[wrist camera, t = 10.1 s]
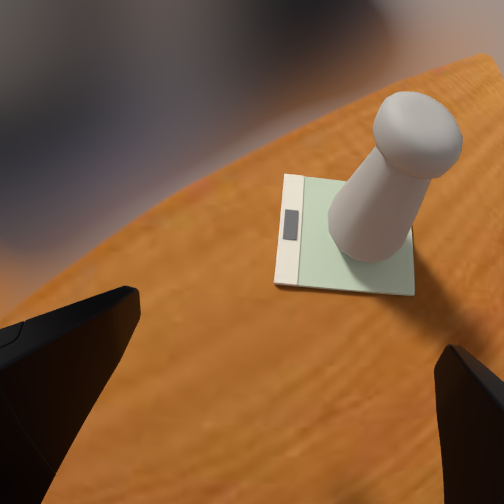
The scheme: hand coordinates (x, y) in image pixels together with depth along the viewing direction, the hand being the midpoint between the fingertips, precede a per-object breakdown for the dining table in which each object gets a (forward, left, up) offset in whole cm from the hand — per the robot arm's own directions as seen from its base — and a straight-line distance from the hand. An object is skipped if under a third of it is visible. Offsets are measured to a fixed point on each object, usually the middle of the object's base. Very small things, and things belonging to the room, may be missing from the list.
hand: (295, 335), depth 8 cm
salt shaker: (+9, -5, -13) cm, 17 cm away
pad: (+10, -5, -14) cm, 18 cm away
